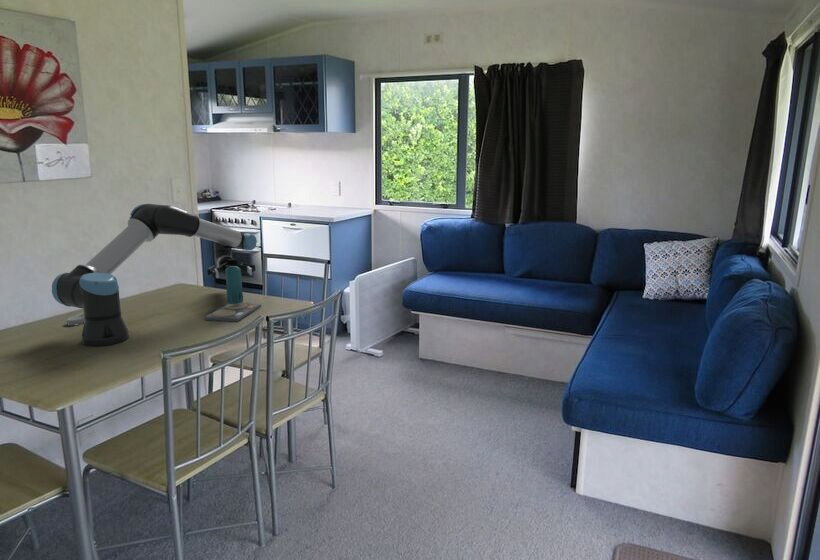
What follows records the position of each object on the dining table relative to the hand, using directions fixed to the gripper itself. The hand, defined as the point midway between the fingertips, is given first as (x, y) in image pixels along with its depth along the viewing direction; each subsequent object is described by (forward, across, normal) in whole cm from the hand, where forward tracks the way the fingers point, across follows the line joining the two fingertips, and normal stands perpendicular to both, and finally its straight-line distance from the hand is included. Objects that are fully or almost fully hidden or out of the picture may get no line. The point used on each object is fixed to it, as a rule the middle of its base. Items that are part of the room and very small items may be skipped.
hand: (234, 273), depth 251 cm
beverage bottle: (+4, +1, -13) cm, 14 cm away
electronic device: (-5, +58, -15) cm, 60 cm away
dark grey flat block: (+10, +3, -14) cm, 17 cm away
